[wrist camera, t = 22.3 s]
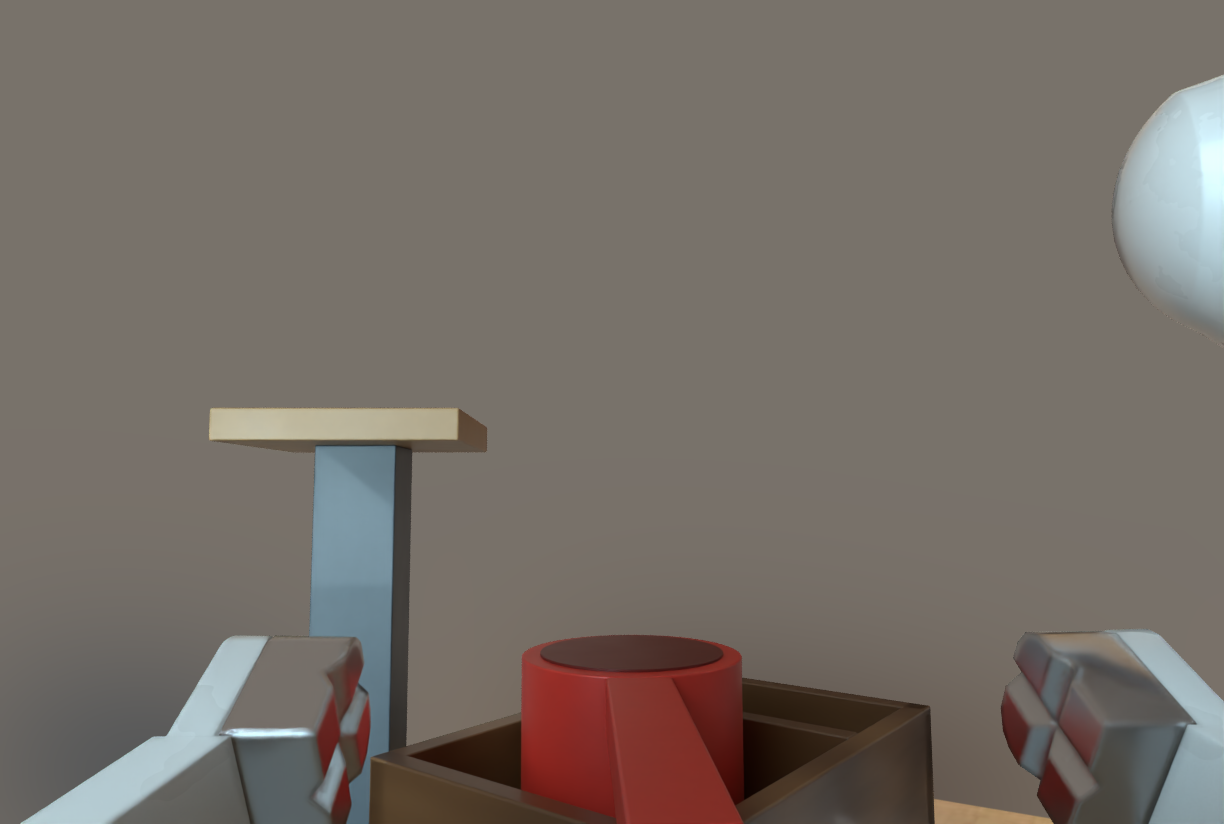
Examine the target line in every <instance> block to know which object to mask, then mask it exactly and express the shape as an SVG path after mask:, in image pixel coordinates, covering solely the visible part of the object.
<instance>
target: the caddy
mask: <svg viewBox="0 0 1224 824" xmlns="http://www.w3.org/2000/svg"><path fill="white" fill-rule="evenodd" d="M742 704H743V762H744V801H742V802H740V803H739V804H737V805H735V807H736V809H737V811H738V813H739V815H740V817H741V819H742V821H743V823H744V824H935V821H934V797H933V796H934V794H933V768H932V741H931V716H930V706H926V705H920V704H913V703H906V702H900V701H892V700H886V699H879V698H873V697H867V696H860V695H853V694H847V693H840V692H833V691H827V690H820V689H813V688H807V687H800V686H794V685H787V684H780V683H774V682H766V681H760V680H754V679H747V678H742ZM369 824H617V823H616V818H614V817H610V816H607V815H604V814H600V813H597V812H594V811H590V810H587V809H584V808H580V807H577V806H573V805H570V804H567V803H563V802H560V801H557V800H553V799H550V798H547V797H543V796H540V795H537V794H533V793H530V792H527V791H523V790H521V713H518V714H514V715H511V716H508V717H504V718H501V719H497V720H494V721H491V722H487V723H484V724H480V725H477V726H474V727H470V728H467V729H464V730H460V731H457V732H454V733H450V734H447V735H443V736H440V737H436V738H433V739H429V740H426V741H423V742H419V743H416V744H413V745H410V746H406V747H402V748H399V749H396V750H392V751H389V752H385V753H382V754H379V755H375V756H372V757H371V758H370V798H369Z"/></svg>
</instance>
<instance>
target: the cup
mask: <svg viewBox="0 0 1224 824" xmlns="http://www.w3.org/2000/svg"><path fill="white" fill-rule="evenodd" d="M521 710H522V711H521V790H523V791H527V792H530V793H533V794H537V795H540V796H543V797H547V798H550V799H553V800H557V801H560V802H563V803H567V804H570V805H573V806H577V807H580V808H584V809H587V810H590V811H594V812H597V813H600V814H604V815H607V816H610V817H614V818H616V823H617V824H744V823H743V821H742V819H741V817H740V815H739V813H738V811H737V809H736V807H735V805H737V804H739V803H740V802H742V801H744V762H743V704H742V656H741V655H740V653H739V652H738V651H736V650H734V649H733V648H730V647H728V646H725V645H722V644H718V643H713V642H709V641H704V640H698V639H691V638H681V637H671V636H653V635H611V636H610V635H609V636H591V637H580V638H571V639H564V640H558V641H553V642H548V643H545V644H541V645H538V646H535V647H532V648H530V649H528V650H527V651H525V652H524V653H523V655H522V709H521Z"/></svg>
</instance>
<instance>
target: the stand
mask: <svg viewBox="0 0 1224 824" xmlns="http://www.w3.org/2000/svg"><path fill="white" fill-rule="evenodd" d="M209 440H210V441H217V442H224V443H230V444H238V445H245V446H253V447H260V448H266V449H273V450H281V451H288V452H315V469H314V502H313V503H314V504H313V533H312V565H311V597H310V630H309V636H337V637H357V638H358V639H359V640H360V641H361V645H362V651H363V657H364V662H365V664H364V667H363V670H362V673H361V676H360V679H359V682H358V683H359V684H360V685H361V686H362V687H364V688H365V689H366V690H367V691H368V692H369V700H370V708H371V729H370V736H369V744H368V751H367V756H366V759H365V763H364V766H363V770H362V773H361V774H360V775H359V776H358V777H357V778H355V779H354V780H353V781H352V782H351V783H350V784H349V788H350V795H351V802H352V806H351V810H350V813H349V816H348V819H347V823H346V824H369V798H370V758H371V757H372V756H375V755H379V754H382V753H385V752H389V751H392V750H396V749H399V748H402V747H406V731H407V682H408V681H407V680H408V632H409V631H408V630H409V582H410V581H409V580H410V530H411V483H412V481H411V480H412V452H486V451H487V428H486V427H485V426H484V425H482V424H481V423H479V422H478V421H476V420H475V419H474V418H472V417H470V416H469V415H468V414H466V413H465V412H463V411H462V410H460V409H459V408H211V409H210V425H209Z"/></svg>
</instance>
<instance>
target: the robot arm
mask: <svg viewBox="0 0 1224 824" xmlns="http://www.w3.org/2000/svg"><path fill="white" fill-rule="evenodd" d="M1112 226H1113V235H1114V241H1115V244H1116V248H1117V251H1118V254H1119V257H1120V260H1121V262H1122V263H1123V266H1124V268H1125V270H1126V272H1127V274H1128V275H1129V277H1130V278H1131V280H1132V281H1133V283H1134V284H1135V286H1136V287H1137V288H1138V290H1139V291H1140V292H1141V293H1142V294H1143V295H1144V297H1146V299H1147V300H1148V301H1150V303H1152V304H1153V305H1154V306H1155V307H1156V308H1157V309H1158V310H1160V311H1161V312H1162V313H1164V314H1165V315H1166V316H1168V317H1169V318H1171V319H1172V320H1174V321H1176V322H1178V323H1180V324H1182V325H1184V326H1186V327H1188V328H1191V329H1192V330H1194V331H1196V332H1198V333H1200V334H1202V335H1203V336H1205V337H1207V338H1208V339H1210V340H1211V341H1213V342H1215V343H1216V344H1218V345H1220V346H1221V347H1223V348H1224V75H1222V76H1219V77H1216V78H1213V79H1211V80H1208V81H1205V82H1202V83H1199V84H1196V85H1194V86H1191V87H1188V88H1185V89H1182V90H1180V91H1177V92H1175V93H1173V94H1172V95H1171V96H1170V97H1169V98H1168V99H1167V100H1166V101H1165V102H1164V103H1163V104H1162V105H1161V106H1160V107H1159V108H1158V109H1157V110H1156V111H1155V112H1154V114H1153V115H1152V116H1151V117H1150V118H1149V119H1148V121H1147V122H1146V123H1145V124H1144V126H1143V127H1142V128H1141V130H1140V132H1139V133H1138V134H1137V136H1136V137H1135V139H1134V141H1133V142H1132V144H1131V146H1130V148H1129V150H1128V152H1127V154H1126V156H1125V158H1124V160H1123V163H1122V165H1121V168H1120V170H1119V173H1118V177H1117V181H1116V185H1115V188H1114V193H1113V204H1112ZM1013 658H1014V660H1015V662H1016V664H1017V665H1018V667H1019V668H1020V670H1021V673H1020V674H1019V675H1018V676H1017V677H1016V678H1014V679H1013V680H1012V681H1011V682H1010V683H1009V684H1008V685H1007V686H1006V687H1005V692H1004V696H1003V700H1002V705H1001V714H1002V725H1003V732H1004V735H1005V738H1006V740H1007V744H1008V746H1009V748H1010V750H1011V752H1012V754H1013V756H1014V758H1015V759H1016V761H1017V763H1018V765H1020V766H1021V767H1022V768H1024V769H1025V770H1027V771H1028V772H1030V773H1031V774H1033V775H1034V776H1035V777H1037V778H1038V779H1040V784H1039V788H1038V793H1037V796H1038V798H1039V800H1040V802H1041V803H1042V805H1043V807H1044V808H1045V810H1046V812H1047V813H1048V815H1049V817H1050V818H1051V820H1052V822H1053V823H1054V824H1224V701H1223V700H1222V699H1221V698H1219V696H1218V695H1217V694H1216V693H1215V692H1214V691H1213V690H1212V689H1211V688H1210V687H1209V686H1208V685H1207V684H1206V683H1205V682H1204V681H1203V680H1202V679H1201V678H1200V677H1199V675H1198V674H1197V673H1196V672H1195V671H1193V669H1192V668H1191V667H1190V666H1189V665H1188V664H1187V663H1186V662H1185V661H1184V660H1183V659H1182V658H1181V657H1180V656H1179V655H1178V654H1177V653H1176V651H1175V650H1173V648H1171V646H1170V645H1169V644H1168V643H1167V642H1166V641H1165V640H1164V639H1163V638H1162V637H1161V636H1160V635H1158V634H1156V633H1154V632H1152V631H1150V630H1148V629H1124V630H1106V631H1079V632H1025V633H1024V635H1023V636H1022V637H1021V638H1020V640H1019V641H1018V643H1017V646H1016V650H1015V653H1014V657H1013ZM364 664H365V662H364V657H363V651H362V645H361V641H360V640H359V639H358V638H357V637H337V636H274V637H272V636H232V637H230V638H228V639H227V640H225V641H224V642H223V643H222V644H221V646H220V648H219V649H218V651H217V653H216V654H215V656H214V658H213V659H212V661H211V663H210V664H209V666H208V668H207V669H206V671H205V673H204V674H203V676H202V678H201V679H200V681H199V683H198V684H197V686H196V688H195V689H194V691H193V693H192V694H191V696H190V698H189V699H188V701H187V703H186V704H185V706H184V708H183V709H182V711H181V713H180V715H179V716H178V718H177V719H176V721H175V723H174V725H173V726H172V728H171V729H170V731H169V733H168V734H167V736H165V737H152V738H150V739H149V740H147V741H146V742H144V743H143V744H141V745H140V746H139V747H137V748H135V749H134V750H133V751H131V752H129V753H128V754H126V755H125V756H123V757H122V758H120V759H119V760H117V761H115V762H114V763H112V764H111V765H109V766H108V767H106V768H105V769H103V770H102V771H100V772H99V773H97V774H96V775H94V776H93V777H91V778H89V779H88V780H86V781H85V782H83V783H82V784H80V785H79V786H77V787H76V788H74V789H73V790H71V791H70V792H68V793H67V794H65V795H64V796H62V797H60V798H59V799H57V800H56V801H54V802H53V803H52V804H50V805H48V806H47V807H45V808H44V809H42V810H41V811H39V812H38V813H36V814H35V815H33V816H31V817H30V818H29V819H27V820H25V821H24V822H22V823H21V824H346V823H347V819H348V816H349V813H350V810H351V806H352V802H351V795H350V788H349V784H350V783H351V782H352V781H353V780H354V779H355V778H357V777H358V776H359V775H360V774H361V773H362V770H363V766H364V763H365V759H366V756H367V751H368V744H369V736H370V729H371V708H370V700H369V692H368V691H367V690H366V689H365V688H364V687H362V686H361V685H360V684H359V683H358V682H359V679H360V676H361V673H362V670H363V667H364Z"/></svg>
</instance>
